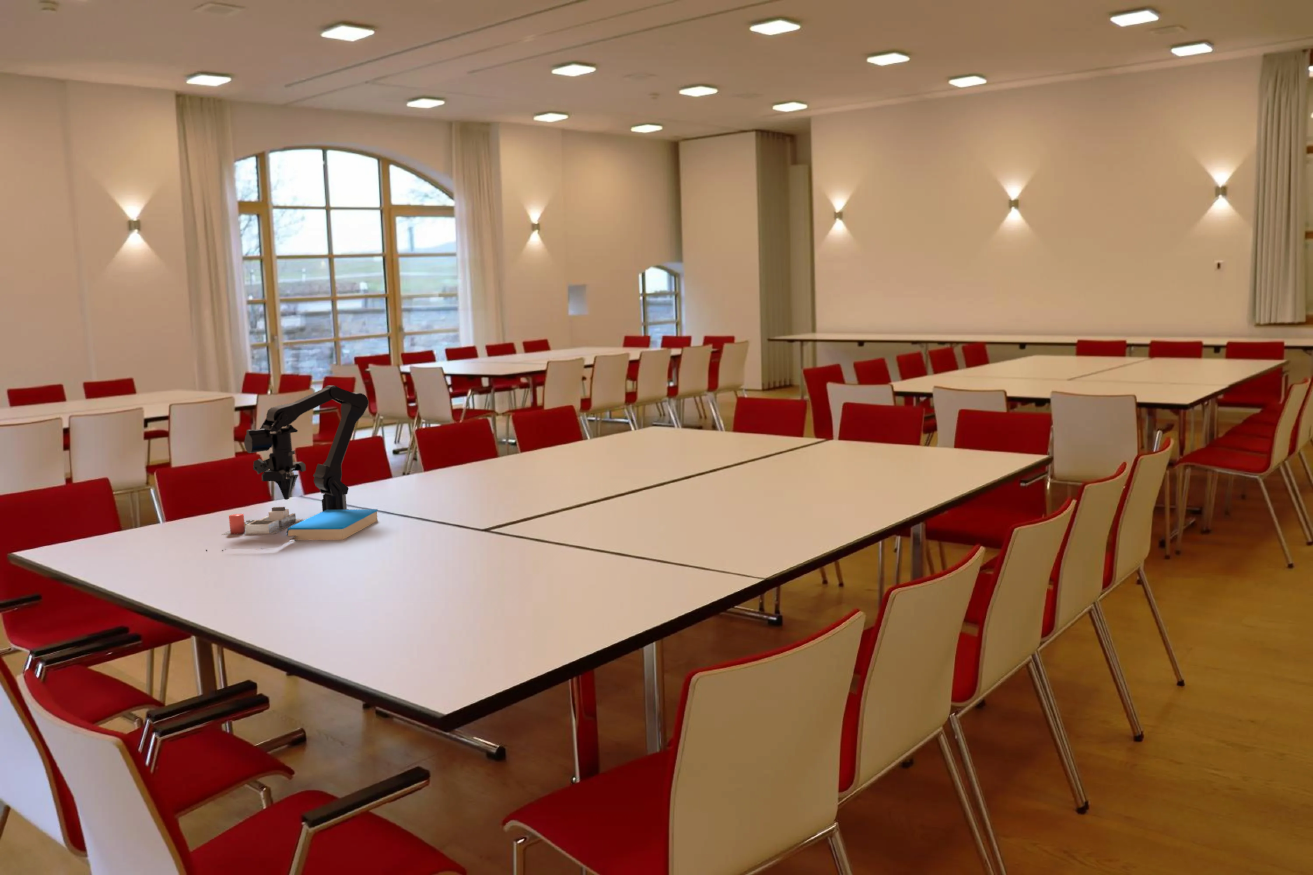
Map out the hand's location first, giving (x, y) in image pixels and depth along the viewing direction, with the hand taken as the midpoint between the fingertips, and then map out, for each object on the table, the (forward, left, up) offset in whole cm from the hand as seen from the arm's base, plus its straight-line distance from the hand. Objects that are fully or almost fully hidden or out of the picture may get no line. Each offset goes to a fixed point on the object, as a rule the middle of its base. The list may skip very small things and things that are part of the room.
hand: (286, 499), depth 328 cm
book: (-19, +13, -8) cm, 24 cm away
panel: (+3, +12, -7) cm, 14 cm away
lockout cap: (+7, +19, -6) cm, 21 cm away
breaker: (0, +6, -6) cm, 8 cm away
